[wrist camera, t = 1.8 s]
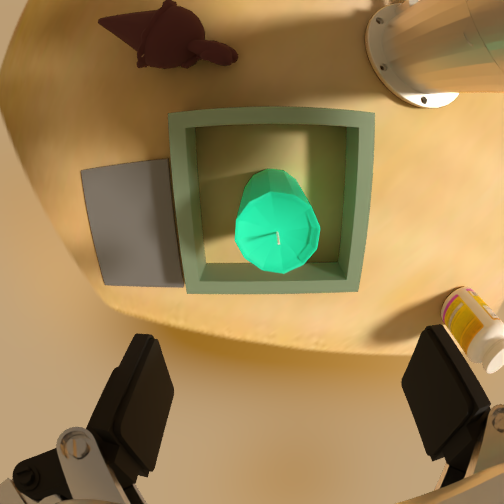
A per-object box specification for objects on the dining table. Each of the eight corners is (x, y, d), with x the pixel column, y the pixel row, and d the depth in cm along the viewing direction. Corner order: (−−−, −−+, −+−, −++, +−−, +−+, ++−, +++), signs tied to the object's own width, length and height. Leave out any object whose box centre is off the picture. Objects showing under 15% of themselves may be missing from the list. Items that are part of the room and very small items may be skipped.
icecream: (67, 56, 17) (210, 101, 21) (93, -15, 13) (251, 24, 17) (104, 50, 23) (224, 90, 26) (127, -8, 18) (256, 30, 22)
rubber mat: (82, 170, 28) (80, 170, 28) (168, 158, 28) (167, 158, 27) (106, 283, 35) (105, 285, 34) (184, 285, 34) (183, 287, 34)
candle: (305, 219, 30) (328, 276, 19) (249, 228, 31) (241, 289, 20) (297, 164, 28) (320, 190, 17) (237, 173, 28) (222, 206, 18)
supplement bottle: (437, 327, 36) (474, 387, 25) (440, 293, 34) (486, 353, 22) (470, 313, 35) (510, 366, 24) (475, 279, 33) (523, 331, 21)
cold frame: (180, 114, 26) (167, 113, 22) (360, 113, 25) (374, 113, 22) (194, 274, 33) (187, 293, 30) (348, 273, 33) (358, 291, 29)
